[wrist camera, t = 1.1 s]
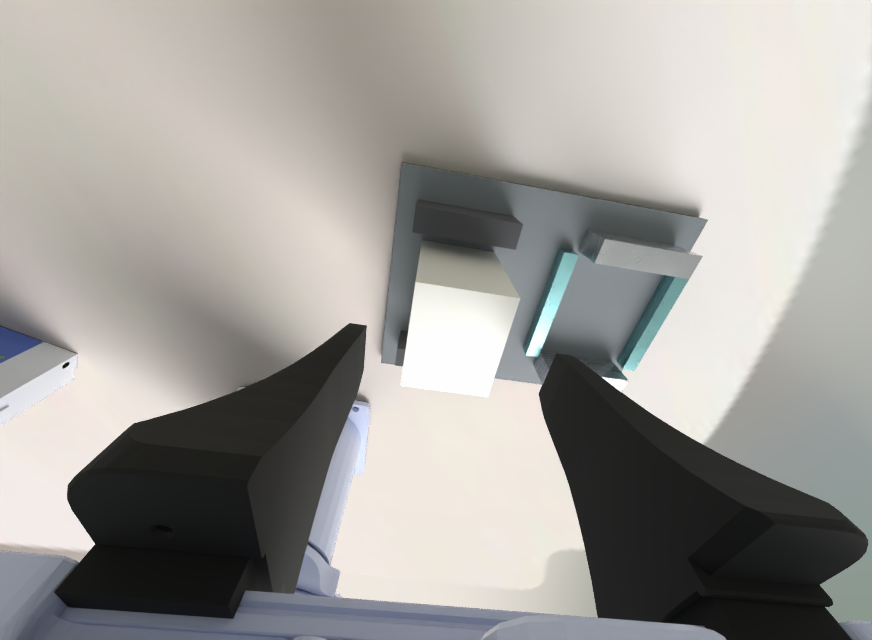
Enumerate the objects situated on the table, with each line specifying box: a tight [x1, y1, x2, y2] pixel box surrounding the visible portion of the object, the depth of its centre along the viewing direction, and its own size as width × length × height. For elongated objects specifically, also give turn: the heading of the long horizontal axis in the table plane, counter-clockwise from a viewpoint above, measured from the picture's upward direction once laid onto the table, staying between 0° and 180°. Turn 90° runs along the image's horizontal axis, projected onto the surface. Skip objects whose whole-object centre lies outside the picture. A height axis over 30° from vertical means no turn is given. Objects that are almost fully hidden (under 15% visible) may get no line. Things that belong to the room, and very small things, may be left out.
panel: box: [381, 162, 708, 384], centre depth 19 cm, size 16×12×1 cm
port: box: [523, 229, 703, 392], centre depth 18 cm, size 7×9×2 cm
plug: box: [400, 240, 520, 397], centre depth 15 cm, size 4×5×6 cm
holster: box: [395, 199, 523, 366], centre depth 17 cm, size 5×9×2 cm, turn 171°
